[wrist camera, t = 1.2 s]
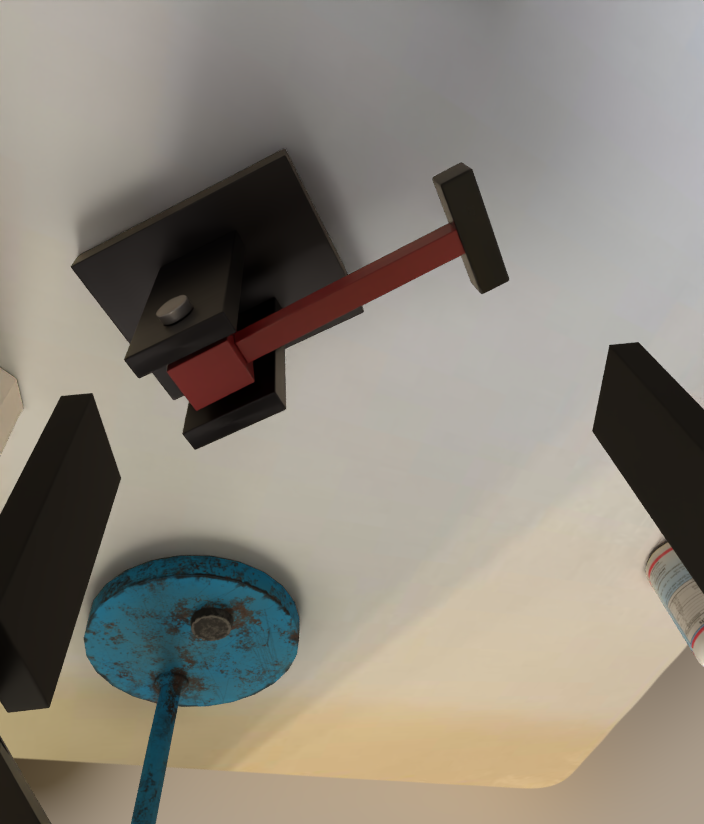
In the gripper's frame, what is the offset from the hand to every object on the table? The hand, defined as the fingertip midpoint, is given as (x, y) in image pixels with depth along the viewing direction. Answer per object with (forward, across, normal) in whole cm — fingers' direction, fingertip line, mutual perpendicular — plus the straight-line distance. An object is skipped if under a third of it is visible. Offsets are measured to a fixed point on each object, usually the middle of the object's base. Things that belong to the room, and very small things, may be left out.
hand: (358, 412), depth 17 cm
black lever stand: (+19, -5, -4) cm, 20 cm away
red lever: (+12, 0, -2) cm, 12 cm away
